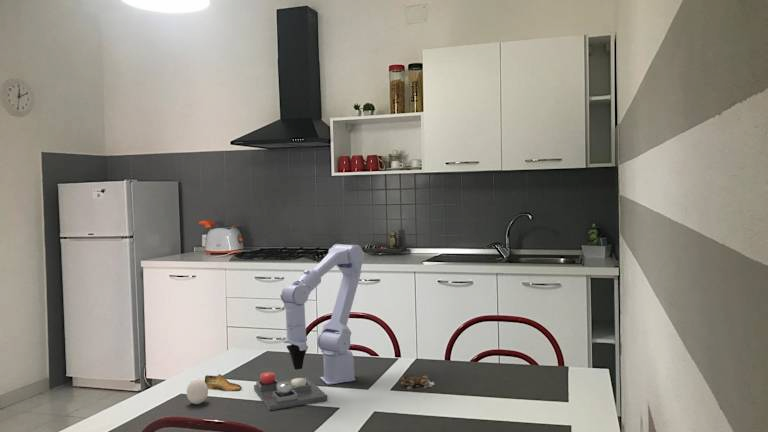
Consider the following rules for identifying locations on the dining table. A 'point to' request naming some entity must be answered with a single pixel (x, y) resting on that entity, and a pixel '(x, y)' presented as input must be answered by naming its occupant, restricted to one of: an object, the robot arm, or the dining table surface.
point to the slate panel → (296, 398)
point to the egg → (197, 391)
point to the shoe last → (220, 383)
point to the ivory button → (298, 382)
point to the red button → (267, 378)
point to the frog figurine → (416, 381)
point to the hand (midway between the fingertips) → (298, 368)
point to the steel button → (284, 388)
